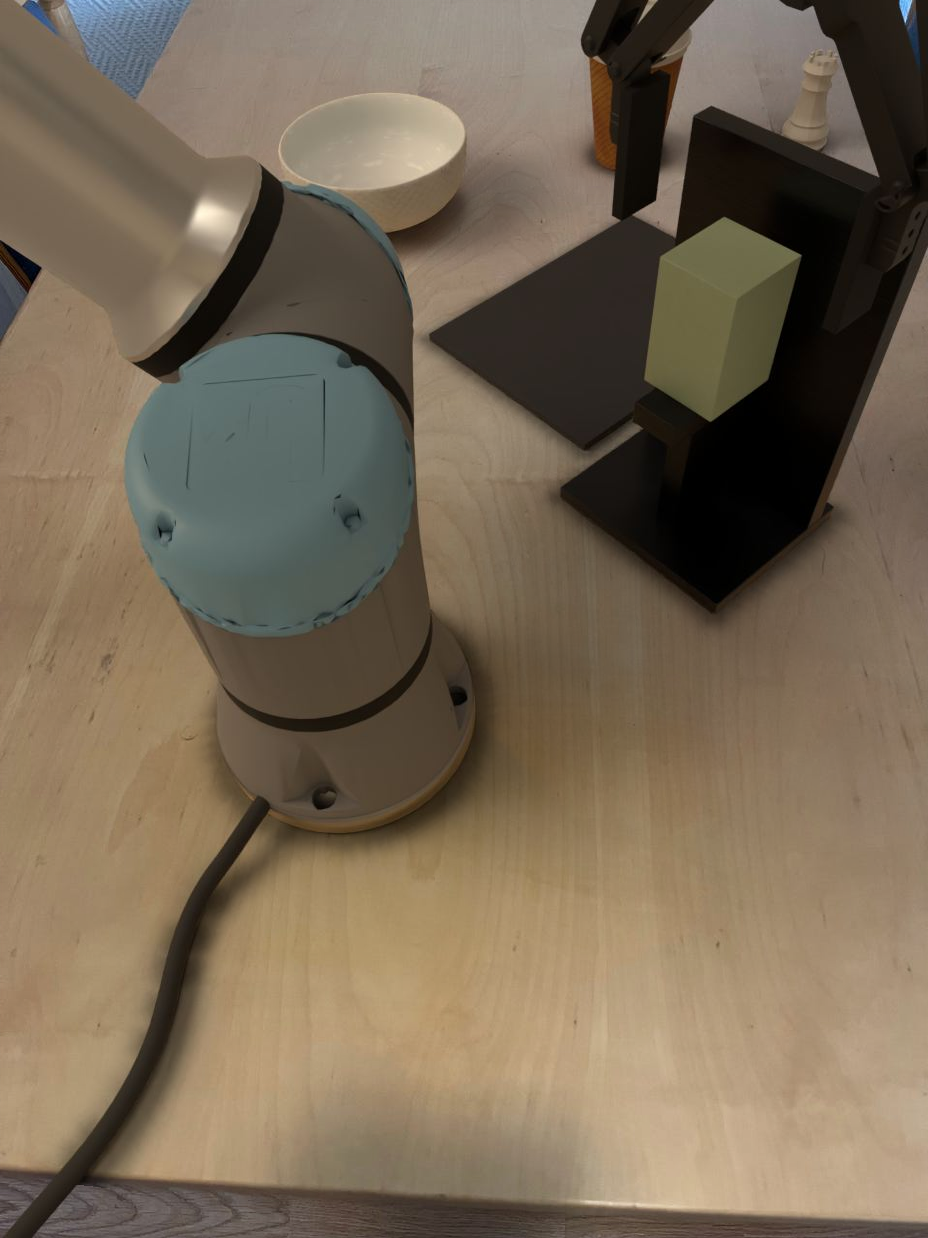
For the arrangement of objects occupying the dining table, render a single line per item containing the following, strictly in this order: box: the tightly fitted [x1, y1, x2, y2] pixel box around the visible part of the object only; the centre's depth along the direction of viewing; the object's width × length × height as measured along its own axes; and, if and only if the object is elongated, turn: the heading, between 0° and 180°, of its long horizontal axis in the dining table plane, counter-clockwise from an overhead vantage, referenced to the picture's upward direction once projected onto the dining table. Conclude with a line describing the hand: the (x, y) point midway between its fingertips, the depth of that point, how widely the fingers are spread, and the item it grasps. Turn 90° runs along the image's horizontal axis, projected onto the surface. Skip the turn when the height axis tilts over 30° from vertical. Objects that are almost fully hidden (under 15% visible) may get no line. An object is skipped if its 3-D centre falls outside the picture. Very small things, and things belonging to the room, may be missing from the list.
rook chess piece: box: [780, 48, 840, 151], centre depth 85 cm, size 4×4×8 cm
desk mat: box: [428, 214, 676, 451], centre depth 74 cm, size 24×18×1 cm
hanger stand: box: [559, 105, 928, 615], centre depth 53 cm, size 12×14×23 cm
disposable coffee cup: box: [588, 0, 693, 171], centre depth 84 cm, size 10×10×12 cm
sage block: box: [644, 217, 802, 422], centre depth 49 cm, size 5×5×8 cm
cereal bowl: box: [277, 92, 468, 234], centre depth 83 cm, size 17×17×7 cm
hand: (732, 260), depth 46 cm, fingers open, 13 cm apart
